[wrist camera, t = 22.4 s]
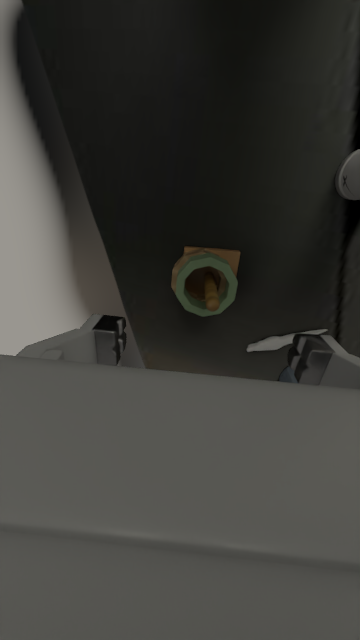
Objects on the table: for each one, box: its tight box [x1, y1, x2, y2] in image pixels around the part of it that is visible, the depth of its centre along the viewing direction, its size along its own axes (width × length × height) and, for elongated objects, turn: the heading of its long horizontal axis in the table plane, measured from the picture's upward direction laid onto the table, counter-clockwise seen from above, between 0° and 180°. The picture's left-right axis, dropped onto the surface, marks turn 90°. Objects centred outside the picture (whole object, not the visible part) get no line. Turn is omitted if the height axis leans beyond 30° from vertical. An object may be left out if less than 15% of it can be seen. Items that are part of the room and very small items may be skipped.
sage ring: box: [176, 253, 238, 317], centre depth 37 cm, size 9×9×3 cm
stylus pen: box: [247, 329, 327, 352], centre depth 46 cm, size 15×3×2 cm, turn 109°
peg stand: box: [184, 246, 241, 312], centre depth 36 cm, size 9×9×14 cm
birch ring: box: [171, 248, 227, 302], centre depth 39 cm, size 9×9×3 cm
